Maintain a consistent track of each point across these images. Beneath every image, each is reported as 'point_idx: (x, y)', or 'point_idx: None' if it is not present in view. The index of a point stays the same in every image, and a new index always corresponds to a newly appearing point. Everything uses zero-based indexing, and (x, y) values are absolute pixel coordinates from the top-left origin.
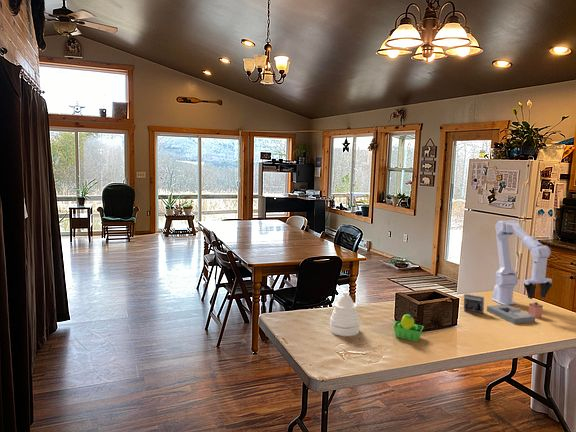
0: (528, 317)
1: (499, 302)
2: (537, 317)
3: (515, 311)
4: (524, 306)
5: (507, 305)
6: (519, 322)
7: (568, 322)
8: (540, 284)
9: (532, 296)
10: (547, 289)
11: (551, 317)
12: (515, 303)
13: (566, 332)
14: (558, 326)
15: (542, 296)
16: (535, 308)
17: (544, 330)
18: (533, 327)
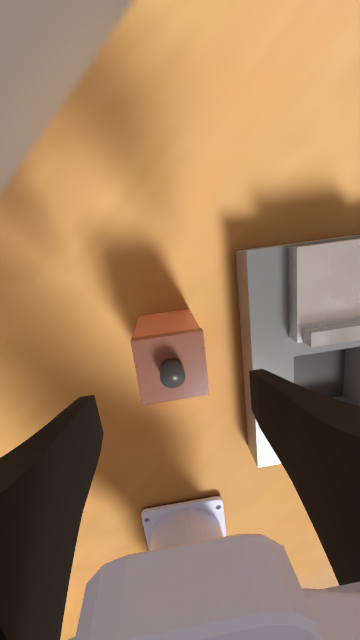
0: (303, 243)
1: (224, 522)
2: (169, 312)
3: (350, 317)
4: (117, 478)
5: (267, 451)
6: (352, 235)
7: (12, 212)
8: (57, 624)
9: (271, 376)
10: (22, 460)
11: (72, 310)
12: (147, 510)
13: (162, 24)
14: (137, 150)
15: (96, 419)
16: (199, 327)
17: (287, 94)
18: (315, 159)
